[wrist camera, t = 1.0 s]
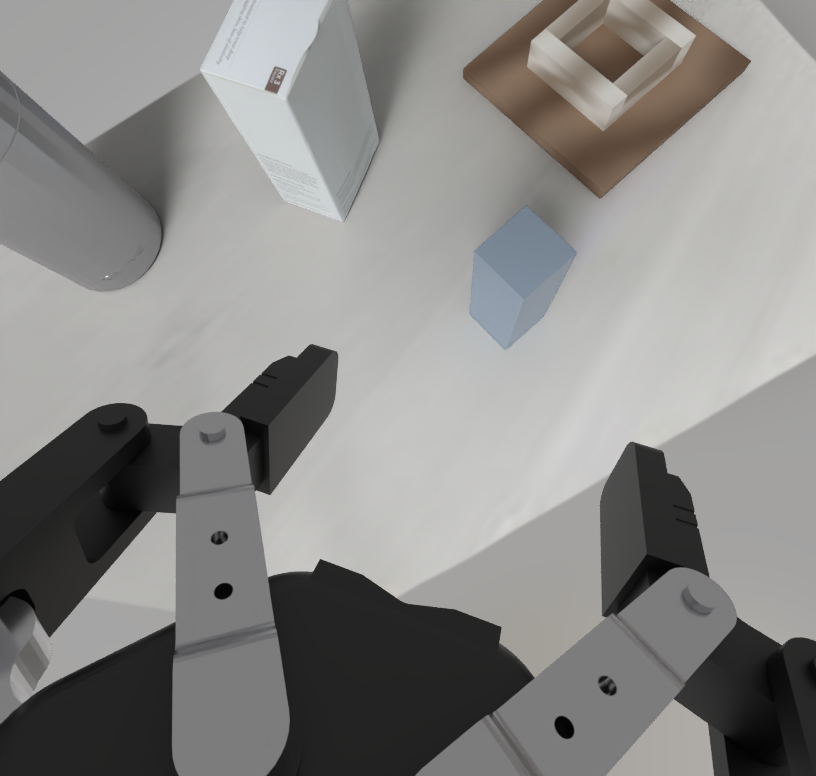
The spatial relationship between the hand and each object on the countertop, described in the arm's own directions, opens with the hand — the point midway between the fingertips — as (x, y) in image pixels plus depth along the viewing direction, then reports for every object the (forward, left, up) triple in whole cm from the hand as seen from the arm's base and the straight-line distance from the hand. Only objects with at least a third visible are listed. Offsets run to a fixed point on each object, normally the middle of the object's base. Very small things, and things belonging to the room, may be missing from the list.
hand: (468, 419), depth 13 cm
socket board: (-16, +30, -24) cm, 41 cm away
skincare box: (-25, +8, -24) cm, 35 cm away
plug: (-6, +10, -24) cm, 27 cm away
